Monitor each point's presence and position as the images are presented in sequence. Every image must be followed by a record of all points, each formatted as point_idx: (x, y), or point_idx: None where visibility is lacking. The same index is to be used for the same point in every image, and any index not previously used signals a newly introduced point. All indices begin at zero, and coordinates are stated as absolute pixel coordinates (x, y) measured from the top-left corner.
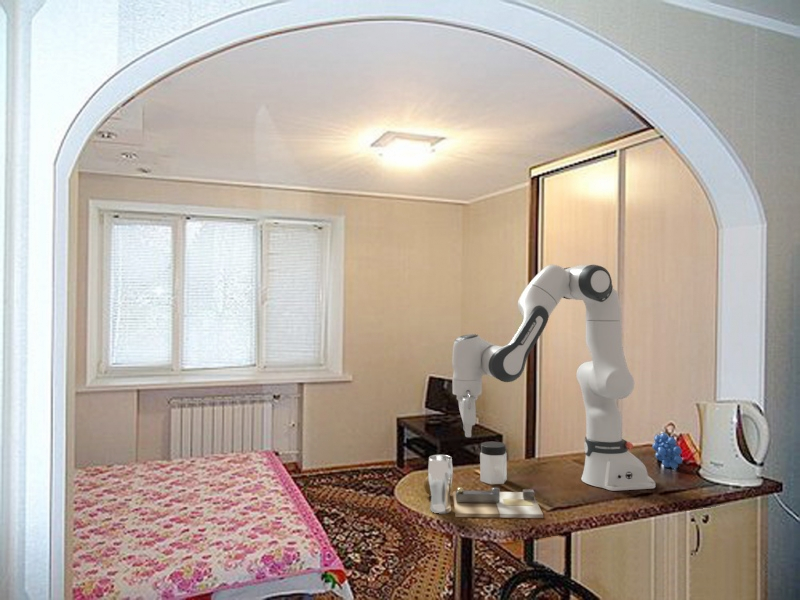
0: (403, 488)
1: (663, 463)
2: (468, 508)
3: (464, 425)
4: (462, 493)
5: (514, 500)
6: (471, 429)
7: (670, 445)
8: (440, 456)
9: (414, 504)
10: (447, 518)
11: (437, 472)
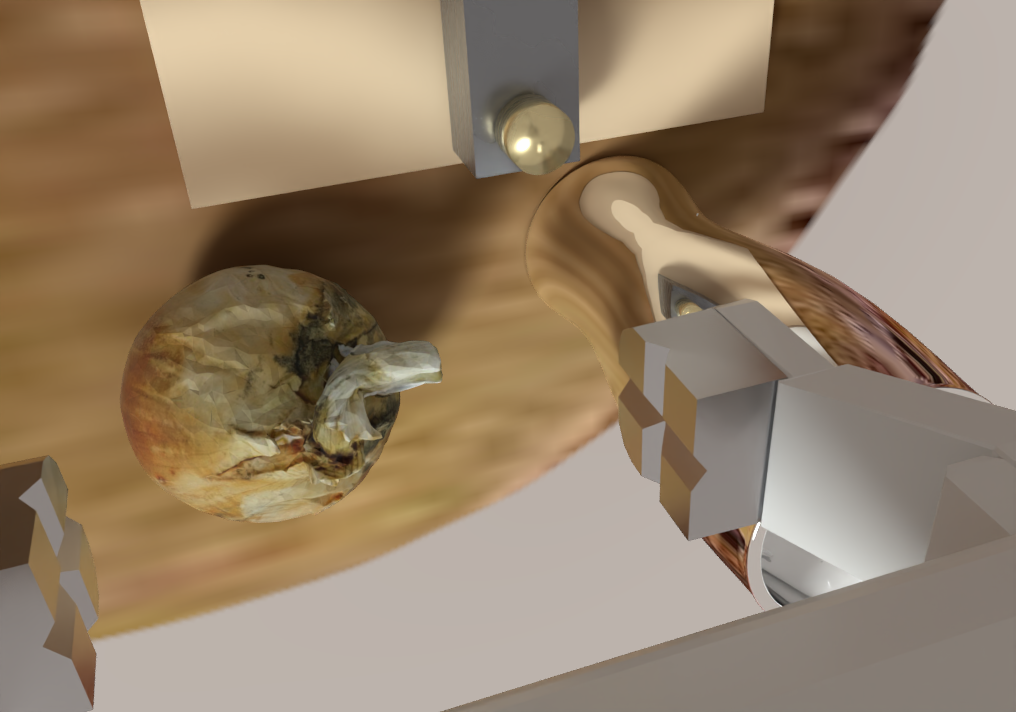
0: (135, 619)
1: None
2: (661, 3)
3: (35, 707)
4: (564, 99)
5: None
6: (920, 385)
7: None
8: (745, 536)
9: (499, 444)
10: (769, 162)
11: None
